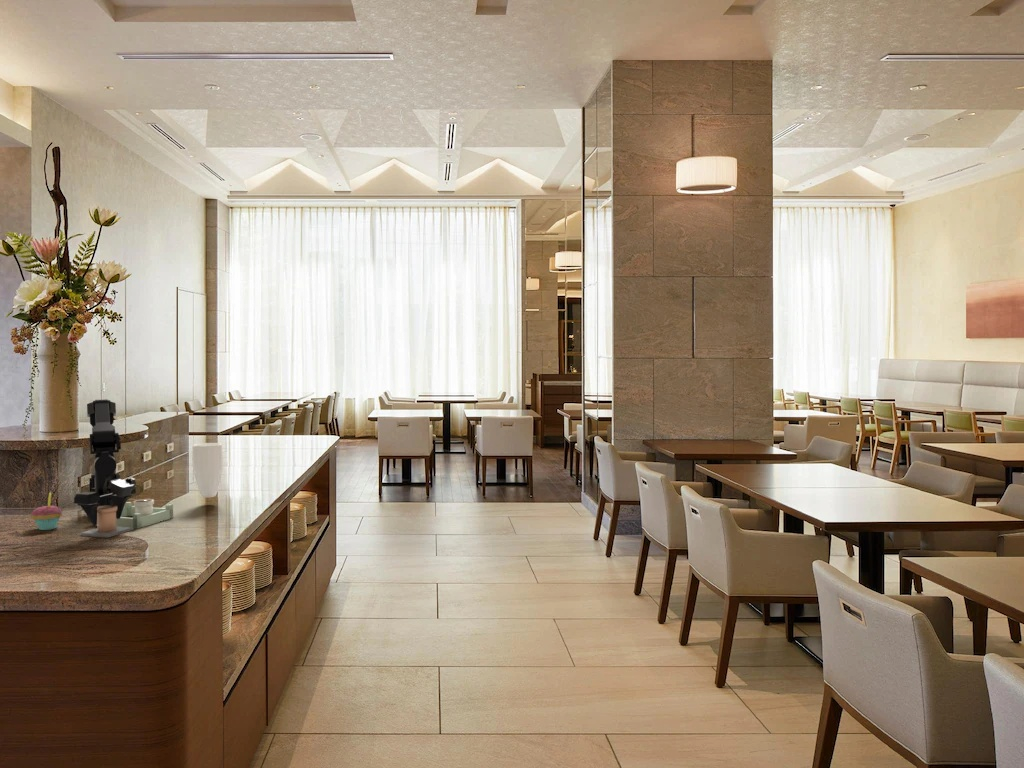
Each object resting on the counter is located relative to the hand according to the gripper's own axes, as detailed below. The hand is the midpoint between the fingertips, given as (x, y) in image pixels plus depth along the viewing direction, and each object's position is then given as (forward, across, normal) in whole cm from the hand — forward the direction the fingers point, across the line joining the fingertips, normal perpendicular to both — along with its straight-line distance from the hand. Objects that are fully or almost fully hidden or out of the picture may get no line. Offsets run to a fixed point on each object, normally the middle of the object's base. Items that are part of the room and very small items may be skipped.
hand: (106, 521), depth 241 cm
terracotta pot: (+2, 0, 0) cm, 3 cm away
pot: (+3, +15, 0) cm, 15 cm away
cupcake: (+4, 0, +23) cm, 23 cm away
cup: (+4, +45, -2) cm, 45 cm away
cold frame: (+3, +15, +4) cm, 16 cm away
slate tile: (+3, 0, 0) cm, 3 cm away
